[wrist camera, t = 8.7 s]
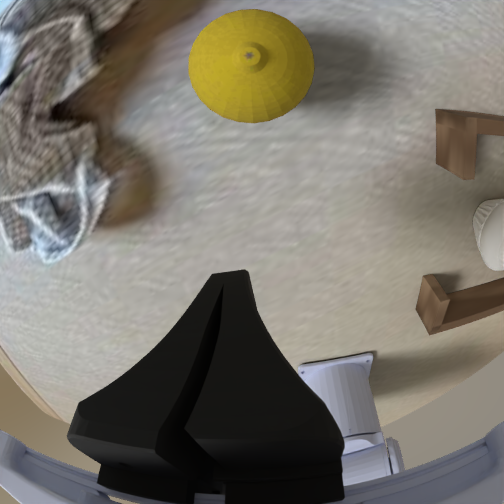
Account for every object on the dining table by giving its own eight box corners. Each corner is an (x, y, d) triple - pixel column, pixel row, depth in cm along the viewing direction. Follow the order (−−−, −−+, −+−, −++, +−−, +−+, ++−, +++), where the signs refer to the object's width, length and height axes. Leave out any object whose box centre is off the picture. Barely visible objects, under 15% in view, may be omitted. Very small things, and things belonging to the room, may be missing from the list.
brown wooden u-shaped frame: (509, 282, 23) (525, 301, 20) (415, 309, 24) (429, 335, 21) (540, 123, 13) (565, 134, 10) (435, 108, 15) (465, 116, 12)
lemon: (295, 27, 13) (325, -16, 6) (303, 112, 16) (338, 131, 9) (200, 36, 13) (158, 1, 6) (210, 120, 16) (177, 145, 9)
